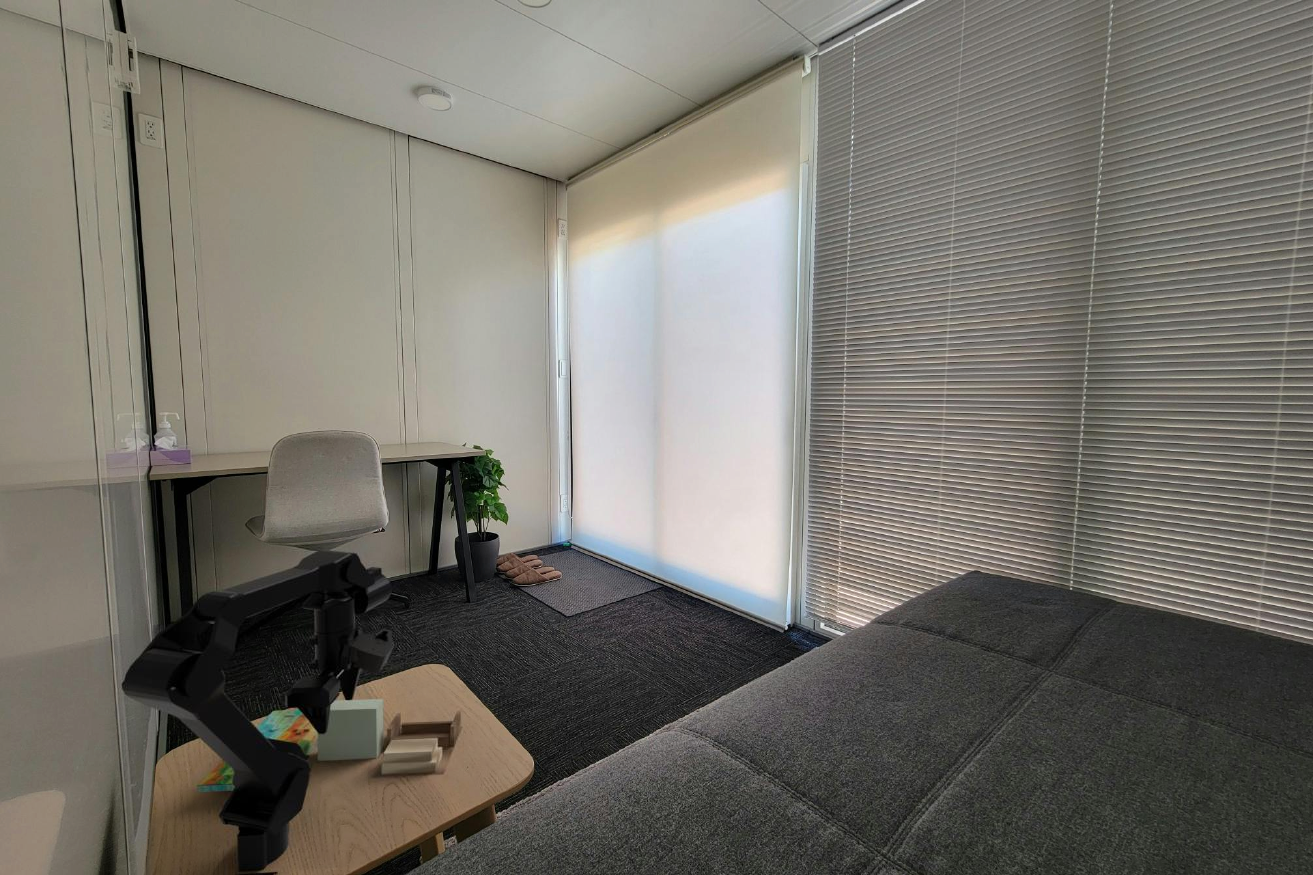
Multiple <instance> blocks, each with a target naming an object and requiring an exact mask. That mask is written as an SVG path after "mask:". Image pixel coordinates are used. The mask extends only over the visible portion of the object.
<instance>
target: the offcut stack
mask: <svg viewBox="0 0 1313 875" xmlns="http://www.w3.org/2000/svg"><path fill="white" fill-rule="evenodd" d="M383 756H384V762H383V763H382V775H386V774H406V773H426V772H436V770H437V768H438V765H439V763H440V760H441V758H442V747H438V738H426V739H402V740H391V742H390V743H389V745H388V747H386V748H385V751H384V752H383Z"/></svg>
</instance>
